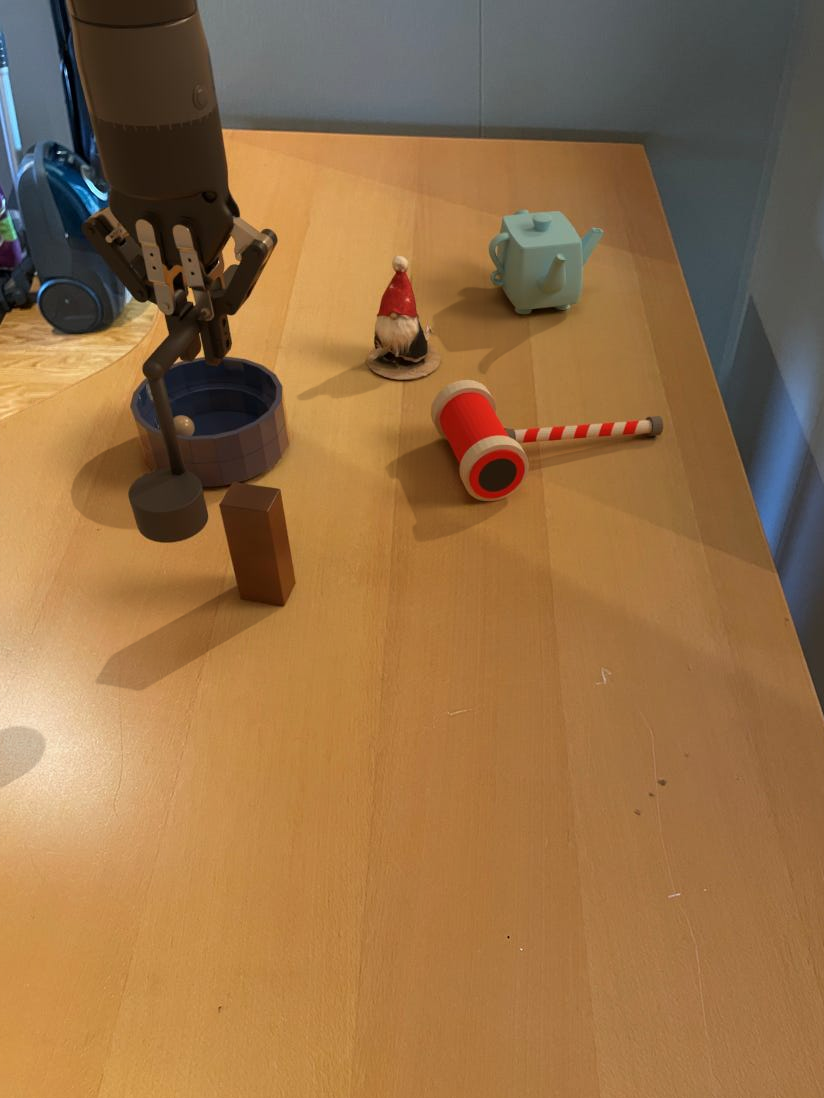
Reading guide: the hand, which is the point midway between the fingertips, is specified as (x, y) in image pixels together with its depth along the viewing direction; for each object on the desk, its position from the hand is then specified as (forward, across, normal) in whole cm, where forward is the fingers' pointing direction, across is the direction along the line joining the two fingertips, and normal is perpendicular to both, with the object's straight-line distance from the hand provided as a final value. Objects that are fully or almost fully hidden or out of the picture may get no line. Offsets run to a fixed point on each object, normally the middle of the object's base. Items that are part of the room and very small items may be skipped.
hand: (203, 357), depth 70 cm
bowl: (+21, +9, -16) cm, 28 cm away
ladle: (+8, 0, +2) cm, 8 cm away
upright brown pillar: (+21, -3, +2) cm, 21 cm away
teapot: (+21, -17, -54) cm, 61 cm away
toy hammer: (+21, -22, -22) cm, 37 cm away
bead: (+19, +13, -16) cm, 28 cm away
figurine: (+21, -4, -36) cm, 42 cm away
